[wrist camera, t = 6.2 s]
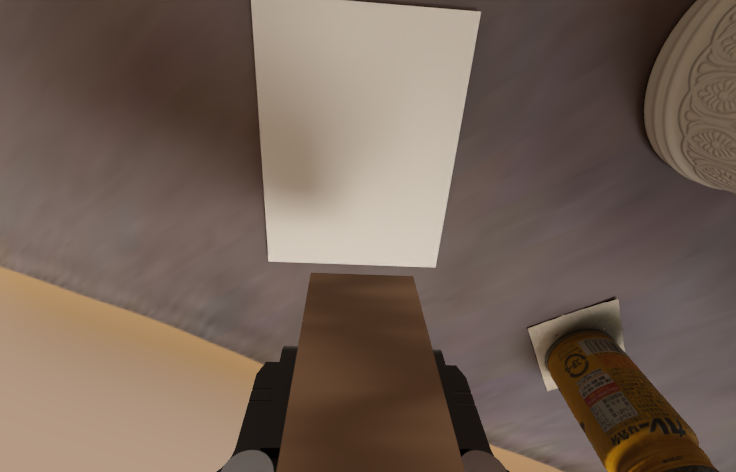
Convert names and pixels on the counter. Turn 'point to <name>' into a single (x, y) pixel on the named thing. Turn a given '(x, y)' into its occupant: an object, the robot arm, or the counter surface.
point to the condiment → (614, 395)
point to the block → (366, 383)
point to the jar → (697, 96)
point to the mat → (359, 126)
